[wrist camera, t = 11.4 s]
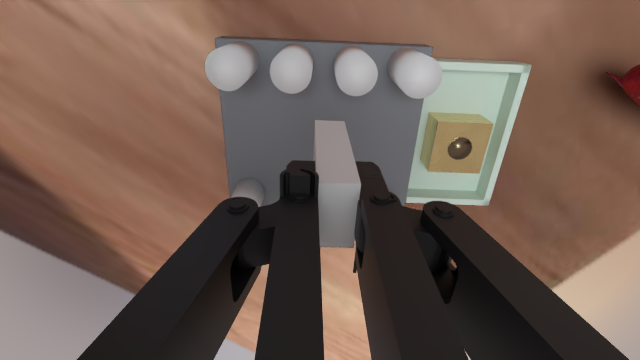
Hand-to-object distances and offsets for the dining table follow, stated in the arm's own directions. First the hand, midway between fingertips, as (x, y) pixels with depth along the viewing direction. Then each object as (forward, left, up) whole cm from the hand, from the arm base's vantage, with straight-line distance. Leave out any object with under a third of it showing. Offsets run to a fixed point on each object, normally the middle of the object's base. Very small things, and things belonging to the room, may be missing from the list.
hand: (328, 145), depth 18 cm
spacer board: (0, -4, -14) cm, 14 cm away
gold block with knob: (+12, -4, -13) cm, 18 cm away
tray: (+12, -4, -14) cm, 19 cm away
